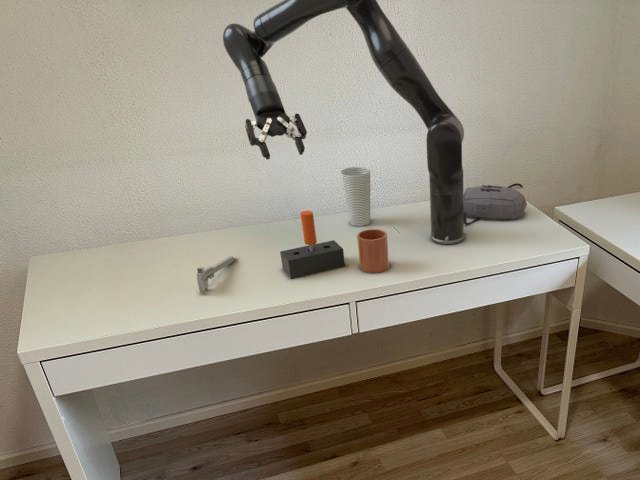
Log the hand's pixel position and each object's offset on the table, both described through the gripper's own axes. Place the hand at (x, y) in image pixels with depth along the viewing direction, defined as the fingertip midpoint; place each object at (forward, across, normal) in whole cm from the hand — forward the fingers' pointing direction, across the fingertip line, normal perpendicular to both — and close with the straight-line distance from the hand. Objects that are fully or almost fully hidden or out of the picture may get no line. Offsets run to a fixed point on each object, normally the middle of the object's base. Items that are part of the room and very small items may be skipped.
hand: (285, 155), depth 169 cm
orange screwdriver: (+27, 0, +10) cm, 29 cm away
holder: (+27, 0, +10) cm, 29 cm away
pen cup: (+32, +14, +5) cm, 35 cm away
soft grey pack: (+20, +62, +17) cm, 67 cm away
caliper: (+22, -22, +16) cm, 35 cm away
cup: (+10, +23, +27) cm, 37 cm away
